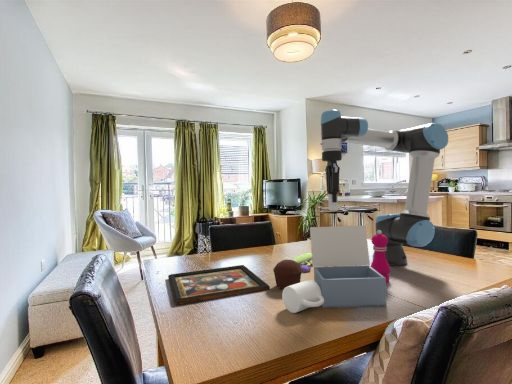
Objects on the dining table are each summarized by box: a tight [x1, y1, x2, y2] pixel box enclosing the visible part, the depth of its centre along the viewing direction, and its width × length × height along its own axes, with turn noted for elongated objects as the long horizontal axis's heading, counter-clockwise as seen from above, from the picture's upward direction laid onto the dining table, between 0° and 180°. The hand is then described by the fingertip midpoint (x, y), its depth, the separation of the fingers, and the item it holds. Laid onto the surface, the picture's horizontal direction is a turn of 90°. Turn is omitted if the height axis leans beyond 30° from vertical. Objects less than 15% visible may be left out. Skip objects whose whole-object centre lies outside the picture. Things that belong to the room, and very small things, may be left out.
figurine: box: [292, 251, 312, 273], centre depth 139 cm, size 18×27×6 cm
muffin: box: [272, 259, 303, 291], centre depth 112 cm, size 12×11×10 cm
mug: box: [281, 279, 324, 314], centre depth 91 cm, size 12×10×8 cm
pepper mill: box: [370, 230, 391, 283], centre depth 115 cm, size 7×7×20 cm
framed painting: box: [167, 264, 271, 307], centre depth 118 cm, size 38×35×3 cm
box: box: [313, 265, 387, 309], centre depth 98 cm, size 20×14×9 cm
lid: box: [309, 225, 371, 268], centre depth 107 cm, size 21×14×1 cm
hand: (333, 210), depth 115 cm, fingers open, 2 cm apart
